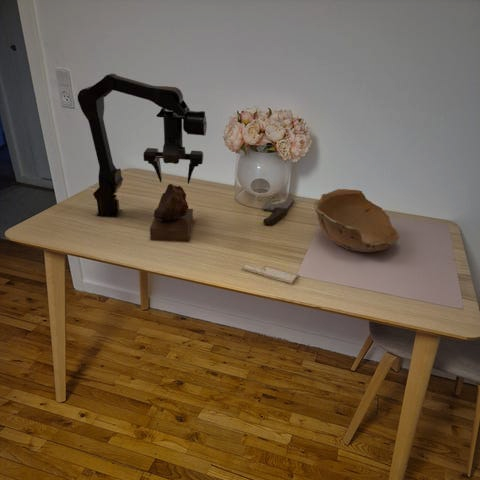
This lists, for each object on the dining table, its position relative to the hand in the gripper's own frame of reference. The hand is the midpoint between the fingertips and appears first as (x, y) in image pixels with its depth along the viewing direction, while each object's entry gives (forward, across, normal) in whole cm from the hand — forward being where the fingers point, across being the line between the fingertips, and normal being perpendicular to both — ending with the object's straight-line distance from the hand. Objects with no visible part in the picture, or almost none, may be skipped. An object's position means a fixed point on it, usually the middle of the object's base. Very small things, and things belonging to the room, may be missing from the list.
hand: (174, 182), depth 145 cm
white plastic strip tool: (+13, +32, -35) cm, 49 cm away
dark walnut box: (+13, 0, -9) cm, 16 cm away
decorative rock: (+9, 0, -8) cm, 12 cm away
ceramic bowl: (+13, +60, -10) cm, 62 cm away
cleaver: (+13, +36, +13) cm, 40 cm away
